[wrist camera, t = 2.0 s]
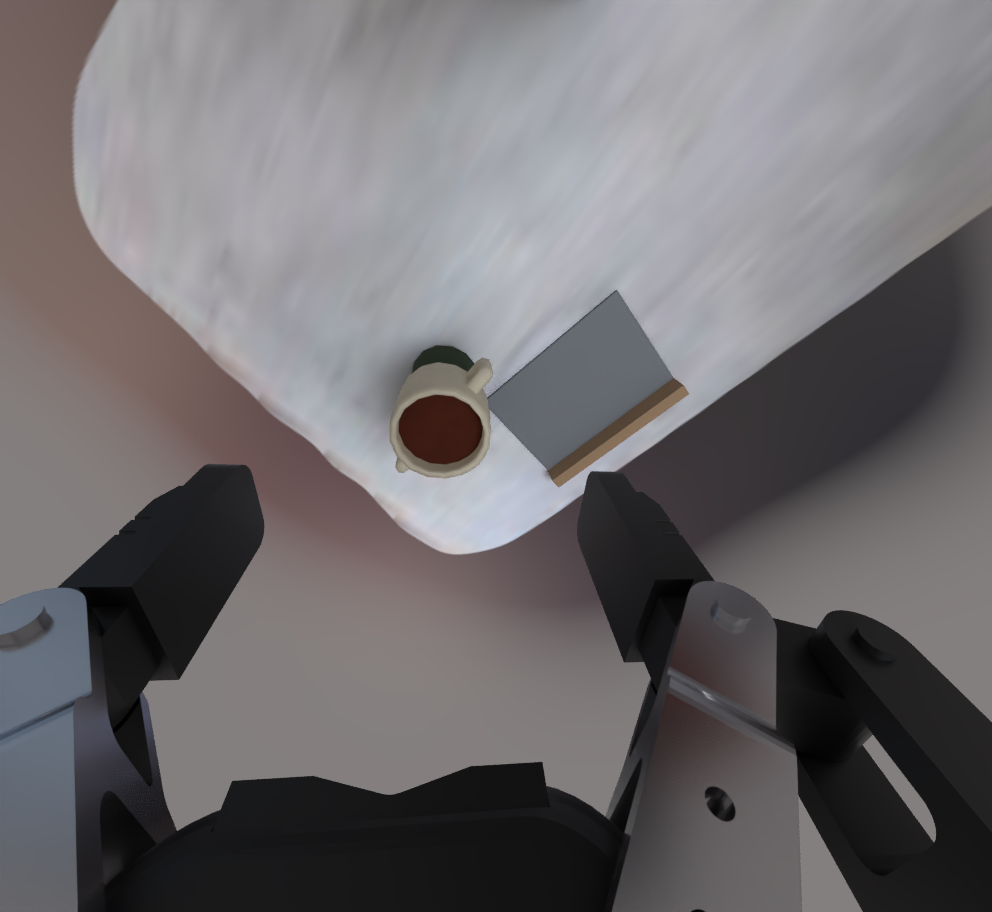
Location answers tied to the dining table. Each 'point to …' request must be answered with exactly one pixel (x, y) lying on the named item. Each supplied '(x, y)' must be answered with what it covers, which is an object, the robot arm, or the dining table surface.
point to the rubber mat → (587, 391)
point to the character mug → (442, 414)
